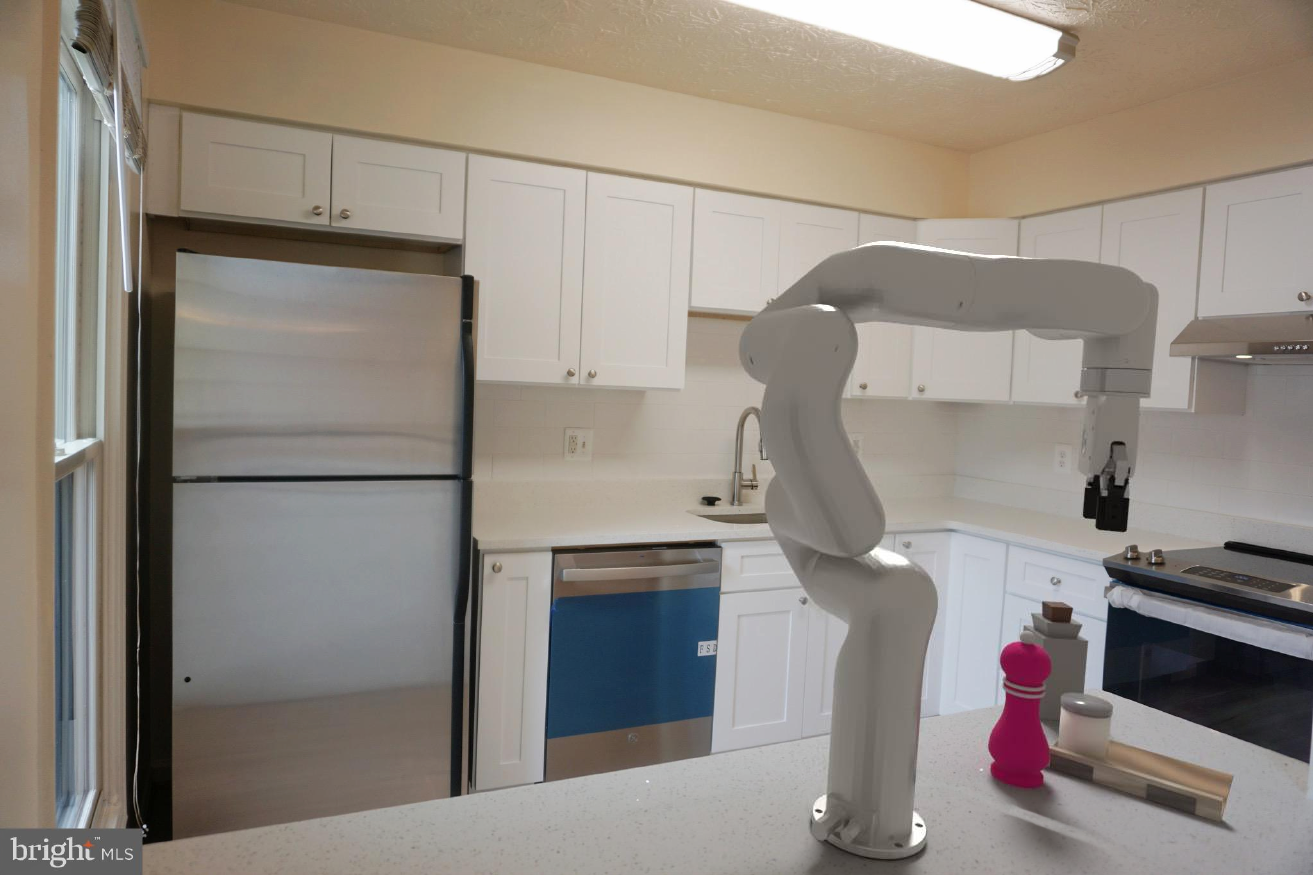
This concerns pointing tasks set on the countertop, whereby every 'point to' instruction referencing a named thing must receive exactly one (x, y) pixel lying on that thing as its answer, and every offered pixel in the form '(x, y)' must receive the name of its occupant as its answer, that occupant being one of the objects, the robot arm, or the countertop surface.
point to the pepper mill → (1021, 716)
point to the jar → (1085, 725)
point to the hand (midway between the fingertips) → (1103, 524)
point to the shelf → (1151, 777)
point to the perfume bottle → (1059, 654)
